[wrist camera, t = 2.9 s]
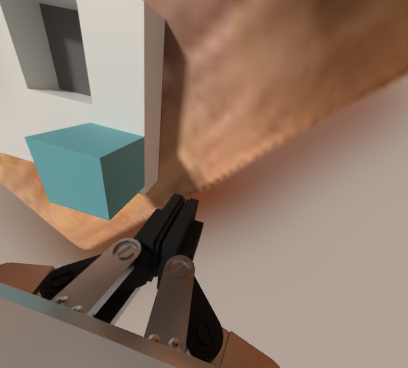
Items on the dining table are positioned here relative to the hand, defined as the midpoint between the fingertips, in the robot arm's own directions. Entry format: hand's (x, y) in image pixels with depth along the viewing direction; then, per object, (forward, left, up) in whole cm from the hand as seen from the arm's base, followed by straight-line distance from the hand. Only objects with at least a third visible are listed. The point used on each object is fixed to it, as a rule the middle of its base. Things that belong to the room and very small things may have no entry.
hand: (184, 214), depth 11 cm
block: (0, -8, -4) cm, 9 cm away
